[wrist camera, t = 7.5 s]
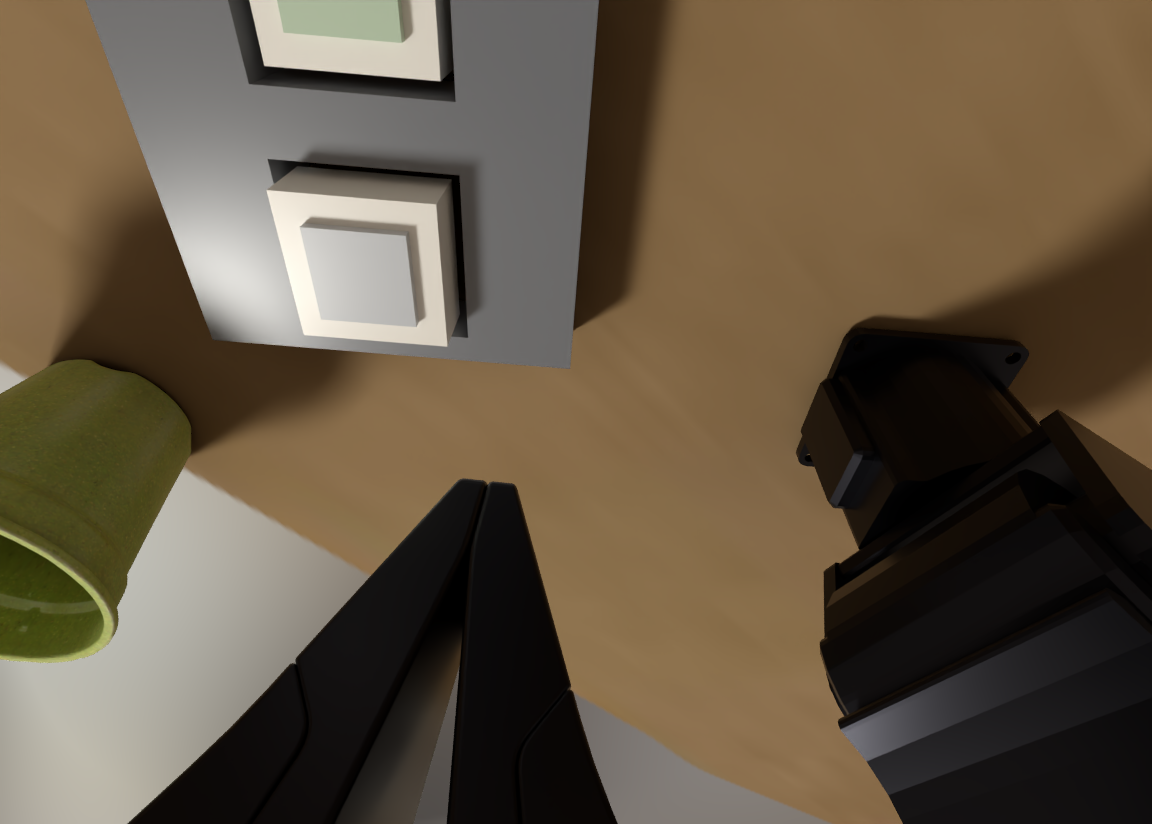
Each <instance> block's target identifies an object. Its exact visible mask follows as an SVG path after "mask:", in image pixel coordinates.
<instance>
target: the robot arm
mask: <svg viewBox="0 0 1152 824" xmlns="http://www.w3.org/2000/svg"><path fill="white" fill-rule="evenodd" d="M859 340H864V341H863V343H862V344H860V345H857V346H853V345H854V344H855V343H856V342H857V341H859ZM1012 353H1014V354H1013V355H1012V356H1010V357H1008V358H1006V357H1007V356H1008V355H1009V354H1012ZM1028 356H1029V352H1028V350H1027V349H1026V348H1025V347H1024V346H1023V345H1022V344H1021V343H1020V342H1018V341H1015V340H1003V339H991V338H979V337H967V336H955V335H943V334H931V333H918V332H906V331H894V330H882V329H870V328H856V329H854V330H851V331H850V332H848V333H847V334H846V335H845V337H844V338H843V341H842V343H841V345H840V348H839V350H838V353H837V355H836V357H835V360H834V362H833V364H832V367H831V369H830V372H829V374H828V376H827V378H826V379H825V380H823V381H822V382H821V383H820V385H819V387H818V390H817V392H816V395H815V397H814V399H813V402H812V404H811V407H810V409H809V412H808V414H807V416H806V419H805V421H804V424H803V426H802V428H801V433H802V438H801V441H800V443H799V445H798V448H797V450H796V454H797V457H798V460H799V462H800V463H801V464H802V465H805V466H812V467H815V469H816V472H817V474H818V477H819V479H820V482H821V485H822V487H823V490H824V492H825V495H826V498H827V500H828V502H829V503H830V504H831V506H832V507H833V508H841V509H843V512H844V514H845V516H846V519H847V521H848V524H849V526H850V529H851V531H852V534H853V536H854V538H855V541H856V543H857V546H858V548H859V551H857V552H856V553H854V554H853V555H852V556H850V557H849V558H847V559H846V560H844V561H843V562H841V563H835V564H833V565H832V566H830V567H829V568H827V569H826V570H825V571H824V632H825V638H824V639H822V640H821V642H820V654H821V657H822V660H823V664H824V667H825V670H826V675H827V678H828V682H829V686H830V689H831V691H832V693H833V695H834V698H835V700H836V702H837V704H838V706H839V708H840V710H841V711H842V713H843V715H844V717H842V718H840V719H839V720H838V724H839V727H840V729H841V731H842V732H843V733H844V735H845V736H846V737H847V738H848V739H849V741H850V742H851V743H852V744H853V745H854V747H855V748H856V749H857V750H858V751H859V753H860V754H861V755H862V756H863V758H864V759H865V760H866V761H867V763H868V764H869V766H870V767H871V769H872V770H873V772H874V774H875V775H876V777H877V778H878V780H879V781H880V783H881V784H882V786H883V788H884V789H885V791H886V792H887V794H888V795H889V797H890V799H891V801H892V803H893V805H894V807H895V809H896V811H897V813H898V815H899V817H900V819H901V821H902V823H903V824H1152V470H1151V469H1149V468H1148V467H1146V466H1145V465H1143V464H1141V463H1140V462H1138V461H1137V460H1135V459H1134V458H1132V457H1131V456H1129V455H1128V454H1126V453H1124V452H1123V451H1121V450H1120V449H1118V448H1117V447H1115V446H1114V445H1112V444H1111V443H1109V442H1107V441H1106V440H1104V439H1103V438H1101V437H1100V436H1098V435H1097V434H1095V433H1094V432H1092V431H1091V430H1089V429H1087V428H1086V427H1084V426H1083V425H1081V424H1080V423H1078V422H1077V421H1075V420H1074V419H1072V418H1070V417H1069V416H1067V415H1066V414H1064V413H1063V412H1061V411H1060V410H1056V411H1054V412H1053V413H1052V414H1050V415H1049V416H1047V417H1046V418H1044V419H1043V420H1041V421H1040V422H1039V423H1040V425H1041V426H1040V425H1039V424H1038V423H1037V421H1036V420H1035V419H1034V418H1033V417H1032V416H1031V415H1030V413H1029V412H1028V411H1027V410H1026V409H1025V408H1024V407H1023V405H1022V404H1021V403H1020V402H1019V401H1018V400H1017V399H1016V397H1015V396H1014V395H1013V394H1012V393H1011V392H1010V391H1009V389H1008V387H1009V386H1010V384H1011V383H1012V381H1013V380H1014V378H1015V377H1016V375H1017V374H1018V372H1019V371H1020V369H1021V368H1022V366H1023V365H1024V363H1025V362H1026V360H1027V358H1028ZM807 454H810V455H807ZM459 665H460V667H459ZM458 669H459V680H458V692H457V704H456V716H455V729H454V741H453V753H452V765H451V777H450V790H449V802H448V815H447V824H618V823H617V821H616V819H615V816H614V814H613V811H612V809H611V806H610V803H609V801H608V798H607V795H606V793H605V790H604V787H603V785H602V783H601V779H600V777H599V774H598V772H597V769H596V766H595V763H594V760H593V757H592V754H591V751H590V747H589V744H588V741H587V738H586V735H585V731H584V728H583V725H582V722H581V719H580V715H579V711H578V708H577V704H576V700H575V697H574V693H573V691H572V690H570V689H571V683H570V680H569V676H568V672H567V669H566V665H565V661H564V658H563V654H562V650H561V647H560V643H559V640H558V636H557V632H556V629H555V625H554V621H553V618H552V614H551V610H550V607H549V603H548V599H547V596H546V592H545V589H544V585H543V581H542V578H541V574H540V570H539V567H538V563H537V559H536V556H535V552H534V549H533V545H532V541H531V538H530V534H529V530H528V527H527V523H526V519H525V516H524V512H523V509H522V505H521V501H520V498H519V494H518V490H517V487H516V486H515V485H514V484H512V483H502V482H490V483H489V484H488V485H487V483H486V482H485V481H483V480H473V479H460V480H458V481H457V482H456V483H455V484H454V485H453V486H452V487H451V489H450V490H449V491H448V492H447V493H446V494H445V495H444V496H443V497H442V498H441V499H440V501H439V502H438V503H437V504H436V505H435V506H434V507H433V508H432V509H431V510H430V512H429V513H428V514H427V515H426V516H425V517H424V518H423V519H422V520H421V521H420V523H419V524H418V525H417V526H416V527H415V528H414V529H413V530H412V531H411V532H410V533H409V535H408V536H407V537H406V538H405V539H404V540H403V541H402V542H401V543H400V544H399V546H398V547H397V548H396V549H395V550H394V551H393V552H392V553H391V554H390V555H389V557H388V558H387V559H386V560H385V561H384V562H383V563H382V564H381V565H380V566H379V567H378V569H377V570H376V571H375V572H374V573H373V574H372V575H371V576H370V577H369V578H368V580H367V581H366V582H365V583H364V584H363V585H362V586H361V587H360V588H359V589H358V591H357V592H356V593H355V594H354V595H353V596H352V597H351V598H350V600H349V601H347V603H346V604H345V605H344V606H343V607H342V608H341V609H340V610H339V611H338V613H337V614H336V615H335V616H334V617H333V618H332V619H331V620H330V621H329V622H328V623H327V625H326V626H325V627H324V628H323V629H322V630H321V631H320V632H319V633H318V635H316V637H315V638H314V639H313V640H312V641H311V642H310V643H309V644H308V645H307V647H306V648H305V649H304V650H303V651H302V652H301V653H300V654H299V655H298V656H297V658H296V664H294V663H292V664H290V665H289V666H288V667H287V668H286V669H285V670H284V671H283V672H282V673H281V675H280V676H279V677H278V678H277V679H276V680H275V681H274V682H273V683H272V684H271V686H270V687H269V688H268V689H267V690H266V691H265V692H264V693H263V694H262V695H261V696H260V697H259V698H258V699H257V700H256V701H255V702H254V704H253V705H252V706H251V707H250V708H249V709H248V710H247V711H246V712H245V713H244V714H243V715H242V716H241V717H240V718H239V719H238V720H237V721H236V722H235V723H234V724H233V726H231V728H229V729H228V730H227V732H225V733H224V734H223V735H222V736H221V737H220V738H219V739H218V740H217V741H216V742H215V743H214V744H213V745H212V746H211V747H209V748H208V749H207V750H206V751H205V752H204V753H203V754H202V755H201V756H200V757H199V758H198V759H197V760H196V761H195V762H194V763H193V764H192V765H191V766H190V767H189V768H187V769H186V770H185V771H184V772H183V773H182V774H181V775H180V776H179V777H178V778H177V779H175V780H174V781H173V782H172V783H171V784H170V785H169V786H168V787H167V788H166V789H165V790H163V791H162V792H161V794H159V795H158V796H157V797H156V798H155V799H154V800H153V801H152V802H150V803H149V805H147V806H146V807H145V808H144V809H143V810H142V811H141V812H140V813H138V814H137V816H135V817H134V818H133V819H132V820H131V821H130V822H129V823H128V824H413V823H414V820H415V816H416V813H417V809H418V806H419V802H420V799H421V796H422V792H423V789H424V785H425V782H426V778H427V775H428V772H429V768H430V765H431V761H432V758H433V754H434V751H435V748H436V744H437V740H438V737H439V734H440V730H441V727H442V724H443V720H444V717H445V713H446V710H447V706H448V703H449V700H450V696H451V693H452V689H453V685H454V682H455V679H456V676H457V672H458Z"/></svg>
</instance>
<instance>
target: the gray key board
mask: <svg viewBox="0 0 1152 824" xmlns="http://www.w3.org/2000/svg"><path fill="white" fill-rule="evenodd" d="M86 3H87V6H88V8H89V11H90V14H91V16H92V19H93V22H94V24H95V27H96V30H97V32H98V35H99V38H100V40H101V43H102V46H103V48H104V51H105V54H106V56H107V59H108V62H109V64H110V67H111V70H112V72H113V75H114V78H115V80H116V83H117V86H118V88H119V91H120V94H121V96H122V99H123V102H124V104H125V107H126V110H127V112H128V115H129V118H130V120H131V123H132V126H133V128H134V131H135V134H136V136H137V139H138V142H139V144H140V147H141V150H142V152H143V155H144V158H145V160H146V163H147V166H148V168H149V171H150V174H151V176H152V179H153V182H154V184H155V187H156V190H157V192H158V195H159V198H160V200H161V203H162V206H163V208H164V211H165V214H166V216H167V219H168V222H169V224H170V227H171V230H172V232H173V235H174V238H175V240H176V243H177V246H178V248H179V251H180V254H181V256H182V259H183V262H184V264H185V267H186V270H187V272H188V275H189V278H190V280H191V283H192V286H193V288H194V291H195V294H196V296H197V299H198V302H199V304H200V307H201V310H202V312H203V315H204V318H205V320H206V323H207V326H208V328H209V331H210V334H211V336H212V339H213V340H220V341H233V342H245V343H257V344H270V345H282V346H294V347H307V348H319V349H331V350H344V351H356V352H368V353H381V354H393V355H405V356H418V357H430V358H442V359H455V360H467V361H479V362H492V363H504V364H516V365H529V366H541V367H553V368H566V369H570V361H571V349H572V337H573V325H574V312H575V299H576V286H577V274H578V261H579V248H580V236H581V223H582V210H583V198H584V185H585V172H586V159H587V147H588V134H589V121H590V109H591V96H592V83H593V70H594V58H595V45H596V32H597V20H598V7H599V0H450V4H451V23H452V42H453V61H454V80H455V82H454V81H442V80H441V81H431V80H420V79H408V78H397V77H386V76H374V75H363V74H351V73H340V72H329V71H317V70H306V69H294V68H283V67H272V66H264V62H263V58H262V53H261V49H260V45H259V40H258V36H257V32H256V27H255V23H254V19H253V14H252V10H251V6H250V1H249V0H86ZM308 162H310V163H322V164H334V165H346V166H357V167H369V168H381V169H392V170H404V171H416V172H427V173H439V174H451V175H460V193H461V212H462V231H463V250H464V269H465V288H466V301H459V307H460V315H459V318H458V320H457V323H456V326H455V328H454V331H453V334H452V336H451V339H450V341H449V344H448V347H445V346H432V345H420V344H408V343H396V342H383V341H371V340H359V339H346V338H334V337H322V336H309V335H304V334H303V330H302V326H301V322H300V318H299V314H298V311H297V307H296V303H295V299H294V295H293V291H292V287H291V283H290V280H289V276H288V272H287V268H286V264H285V260H284V256H283V253H282V249H281V245H280V241H279V237H278V233H277V229H276V225H275V222H274V218H273V214H272V210H271V206H270V202H269V198H268V195H267V191H266V190H267V189H268V188H270V187H271V186H272V185H274V184H275V183H276V182H278V181H279V180H280V179H282V178H283V177H284V176H285V175H287V174H288V173H289V172H291V171H292V170H293V169H295V168H296V167H297V166H301V167H309V163H308Z"/></svg>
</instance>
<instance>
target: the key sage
mask: <svg viewBox="0 0 1152 824" xmlns="http://www.w3.org/2000/svg"><path fill="white" fill-rule="evenodd" d="M249 1H250V6H251V10H252V14H253V19H254V23H255V27H256V32H257V36H258V40H259V45H260V49H261V53H262V58H263V62H264V66H272V67H283V68H294V69H306V70H317V71H329V72H340V73H351V74H363V75H374V76H386V77H397V78H408V79H420V80H431V81H441V80H442V79H444V78H445V77H446V76H447V75H448V74H449V73H450V72H451V71H452V70H453V69H454V61H453V42H452V23H451V4H450V0H249Z"/></svg>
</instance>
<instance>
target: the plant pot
mask: <svg viewBox="0 0 1152 824" xmlns="http://www.w3.org/2000/svg"><path fill="white" fill-rule="evenodd" d="M190 454H191V426H190V423H189V421H188V419H187V417H186V416H185V414H184V413H183V411H182V410H181V409H180V407H179V406H178V405H177V404H176V403H175V402H174V401H173V400H172V399H171V398H170V397H169V396H168V395H167V394H166V393H164V392H163V391H162V390H161V389H159V388H158V387H157V386H155V385H154V384H153V383H151V382H149V381H148V380H146V379H144V378H143V377H141V376H139V375H137V374H135V373H131V372H123V371H117V370H113V369H109V368H106V367H103V366H100V365H98V364H96V363H95V362H94V361H92V360H67V361H62V362H58V363H56V364H53V365H51V366H49V367H47V368H46V369H44V370H42V371H40V372H39V373H37V374H35V375H33V376H31V377H29V378H28V379H26V380H24V381H22V382H21V383H19V384H17V385H15V386H14V387H12V388H10V389H8V390H6V391H5V392H3V393H1V394H0V659H1V660H9V661H28V662H38V663H43V662H45V663H52V662H53V663H54V662H65V661H72V660H76V659H79V658H85V657H88V656H90V655H93V654H95V653H96V652H98V651H99V650H101V649H103V648H104V647H105V646H106V645H107V644H108V643H109V642H110V641H111V639H112V637H113V636H114V634H115V632H116V630H117V626H118V611H117V606H118V604H119V602H120V600H121V598H122V596H123V594H124V592H125V589H126V586H127V574H128V571H129V569H130V568H131V566H132V564H133V562H134V560H135V558H136V556H137V554H138V552H139V550H140V548H141V546H142V544H143V542H144V540H145V539H146V537H147V534H148V533H149V530H150V529H151V527H152V525H153V523H154V521H155V519H156V517H157V515H158V513H159V512H160V510H161V508H162V506H163V504H164V502H165V500H166V498H167V496H168V494H169V493H170V491H171V489H172V487H173V485H174V483H175V481H176V480H177V478H178V476H179V474H180V472H181V471H182V469H183V467H184V465H185V463H186V461H187V459H188V457H189V456H190Z"/></svg>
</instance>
